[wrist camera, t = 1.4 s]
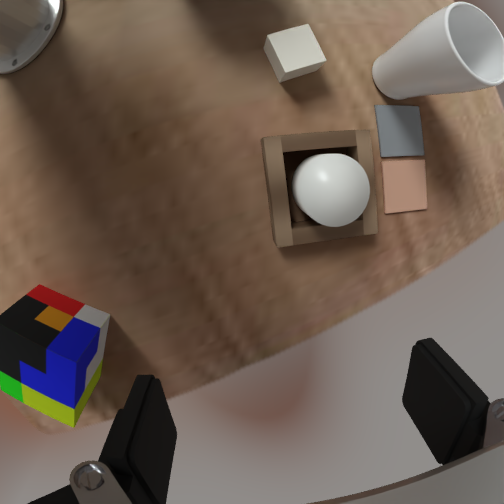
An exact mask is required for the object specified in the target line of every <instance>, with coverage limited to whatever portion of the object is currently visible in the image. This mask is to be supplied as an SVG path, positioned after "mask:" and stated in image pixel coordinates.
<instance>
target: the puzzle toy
mask: <svg viewBox="0 0 504 504" xmlns="http://www.w3.org/2000/svg"><path fill="white" fill-rule="evenodd" d="M109 319H110V314H108V313H105V312H103V311H100V310H98V309H95V308H93V307H90V306H88V305H86V304H83V303H81V302H78V301H76V300H74V299H71V298H69V297H67V296H65V295H62V294H60V293H58V292H55V291H53V290H51V289H49V288H47V287H44V286H42V285H40V284H39V285H38V286H37V287H35V288H34V289H33V290H31V291H30V292H29V293H27V294H26V295H25V296H24V297H22V298H21V299H20V300H18V301H17V302H16V303H15V304H13V305H12V306H11V307H10V308H8V309H7V310H6V311H5V312H3V313H2V314H1V315H0V386H1V390H2V391H4V392H5V393H7V394H9V395H11V396H12V397H14V398H16V399H17V400H19V401H21V402H23V403H25V404H27V405H28V406H30V407H32V408H34V409H36V410H38V411H40V412H42V413H44V414H46V415H48V416H50V417H52V418H54V419H56V420H58V421H60V422H62V423H65V424H67V425H69V426H71V427H73V428H74V427H75V425H76V423H77V421H78V419H79V417H80V415H81V413H82V411H83V409H84V407H85V405H86V403H87V401H88V399H89V397H90V395H91V394H92V392H93V390H94V388H95V386H96V384H97V382H98V380H99V378H100V376H101V369H102V362H103V355H104V348H105V342H106V336H107V330H108V325H109Z"/></svg>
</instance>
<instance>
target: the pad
mask: <svg viewBox="0 0 504 504" xmlns="http://www.w3.org/2000/svg"><path fill="white" fill-rule="evenodd" d="M381 168H382V180H383V195H384V213H385V214H386V213H394V212H403V211H412V210H420V209H427V190H426V170H425V160H402V161H383V162H381Z"/></svg>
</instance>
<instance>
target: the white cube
mask: <svg viewBox="0 0 504 504" xmlns="http://www.w3.org/2000/svg"><path fill="white" fill-rule="evenodd" d="M263 49H264V51H265V53H266V55H267V57H268V59H269V62H270V64H271V66H272V68H273V70H274V72H275V74H276V76H277V79H278V81H279V83H280V82H283V81H286V80H289V79H292V78H295V77H298V76H302V75H305V74H308V73H312V72H315V71H317V70H318V69H319V68H320V67H321V66H322V65H323V64H324V63H325V62H326V58H325V56H324V54H323V52H322V50H321V48H320V46H319V44H318V42H317V40H316V38H315V36H314V34H313V32H312V30H311V28H310V26H309V24H306V25H302V26H298V27H294V28H290V29H286V30H283V31H279V32H276V33H272V34H269V35H267V38H266V41H265V45H264V48H263Z"/></svg>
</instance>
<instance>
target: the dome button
mask: <svg viewBox="0 0 504 504" xmlns="http://www.w3.org/2000/svg"><path fill="white" fill-rule="evenodd" d="M291 190H292V195H293V198H294V200H295V202H296V204H297V205H298V207H299V208H300V209H301V210H302V211H303V212H305V213H306V214H307V215H309V216H310V217H311V218H312V219H314V220H315V221H317V222H318V223H320V224H322V225H325V226H330V227H340V226H344V225H347V224H349V223H351V222H353V221H354V220H356V219H357V218H358V217H359V216H360V215H361V214H362V212H363V211H364V210H365V208H366V206H367V203H368V200H369V195H370V185H369V180H368V177H367V174H366V172H365V171H364V169H363V168H362V166H361V165H360V164H359V163H358V162H357V161H355V160H354V159H352V158H351V157H349V156H346V155H343V154H317V155H313V156H310V157H308V158H307V159H305V160H304V161H302V162H301V163H300V164H299V166H298V167H297V168H296V170H295V172H294V174H293V177H292V183H291Z"/></svg>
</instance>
